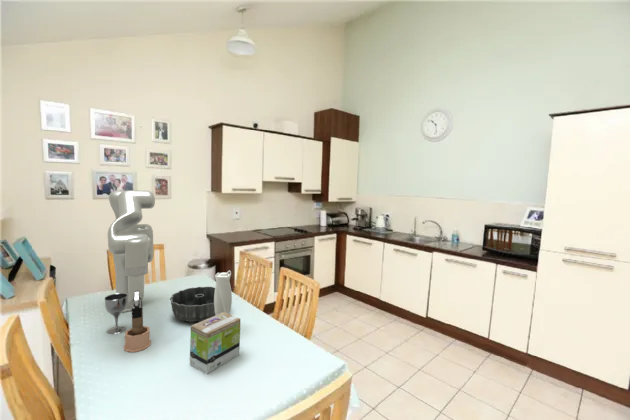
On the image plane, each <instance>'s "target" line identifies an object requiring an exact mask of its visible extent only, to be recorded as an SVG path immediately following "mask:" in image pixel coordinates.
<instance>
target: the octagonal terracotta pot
mask: <svg viewBox="0 0 630 420" xmlns="http://www.w3.org/2000/svg"><path fill="white" fill-rule="evenodd" d="M124 332H125V333H124V345H123V350H124V352H126V353H137V352H141V351H144V350H146V349H148V348H149V347H151V345H152V339H150V338H151V336H150V333H151V331H150V326H146V325H143V334H140V335H135V336H132V327H131V328H129V329H126V330H125V331H124Z"/></svg>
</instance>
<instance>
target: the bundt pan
mask: <svg viewBox="0 0 630 420" xmlns="http://www.w3.org/2000/svg"><path fill="white" fill-rule="evenodd" d="M214 293H215V286H196V287H188V288H185V289H183V290H179V291H177V292H175V293H173V294H171V297H169V300H170V304H171V311H172V313H173V315H174V317H175V318H177V319H179V320H180V321H182V322H189V323H194V322H196V321H197V322H198V323H199V322H201V321H203V320H206V319H208V318H211V317H213V316H215V308H214Z"/></svg>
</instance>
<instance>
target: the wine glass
mask: <svg viewBox="0 0 630 420" xmlns="http://www.w3.org/2000/svg"><path fill="white" fill-rule="evenodd" d="M126 304H127V294H125V293H117V294H116V293H113V294H112V293H111V294H108V295H107V296H106V295H105V297H104V306H105V309H106V312H107V313H109V314H110V315H111V316H113V318H114V321H115V326H113V327H111V328H109V329H107V331H106V334H108V335H116V334H121V333H123V332H125V331H127V327H126V326H123V325H119V317H120V315H121V314H122V313H123V312H122V311H123V310H124V309H125V307H126ZM118 325H119V326H118Z"/></svg>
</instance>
